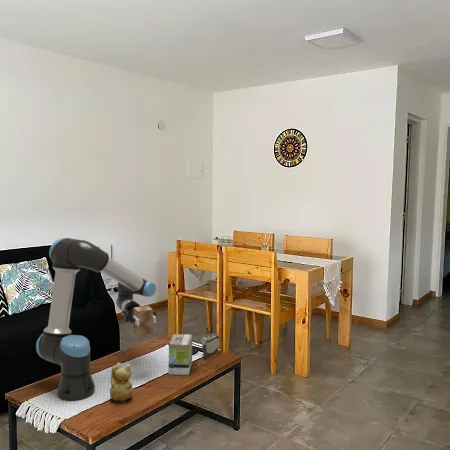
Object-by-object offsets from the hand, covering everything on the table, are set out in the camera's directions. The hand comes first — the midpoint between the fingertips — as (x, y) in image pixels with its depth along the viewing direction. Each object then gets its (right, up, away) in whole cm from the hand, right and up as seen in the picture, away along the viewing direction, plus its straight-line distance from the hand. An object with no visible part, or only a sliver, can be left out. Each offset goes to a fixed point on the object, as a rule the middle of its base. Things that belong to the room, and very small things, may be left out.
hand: (146, 321), depth 209 cm
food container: (+26, -24, +32) cm, 48 cm away
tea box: (+14, -26, +16) cm, 33 cm away
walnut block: (-2, -6, +5) cm, 8 cm away
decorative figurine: (-8, -29, -16) cm, 34 cm away
